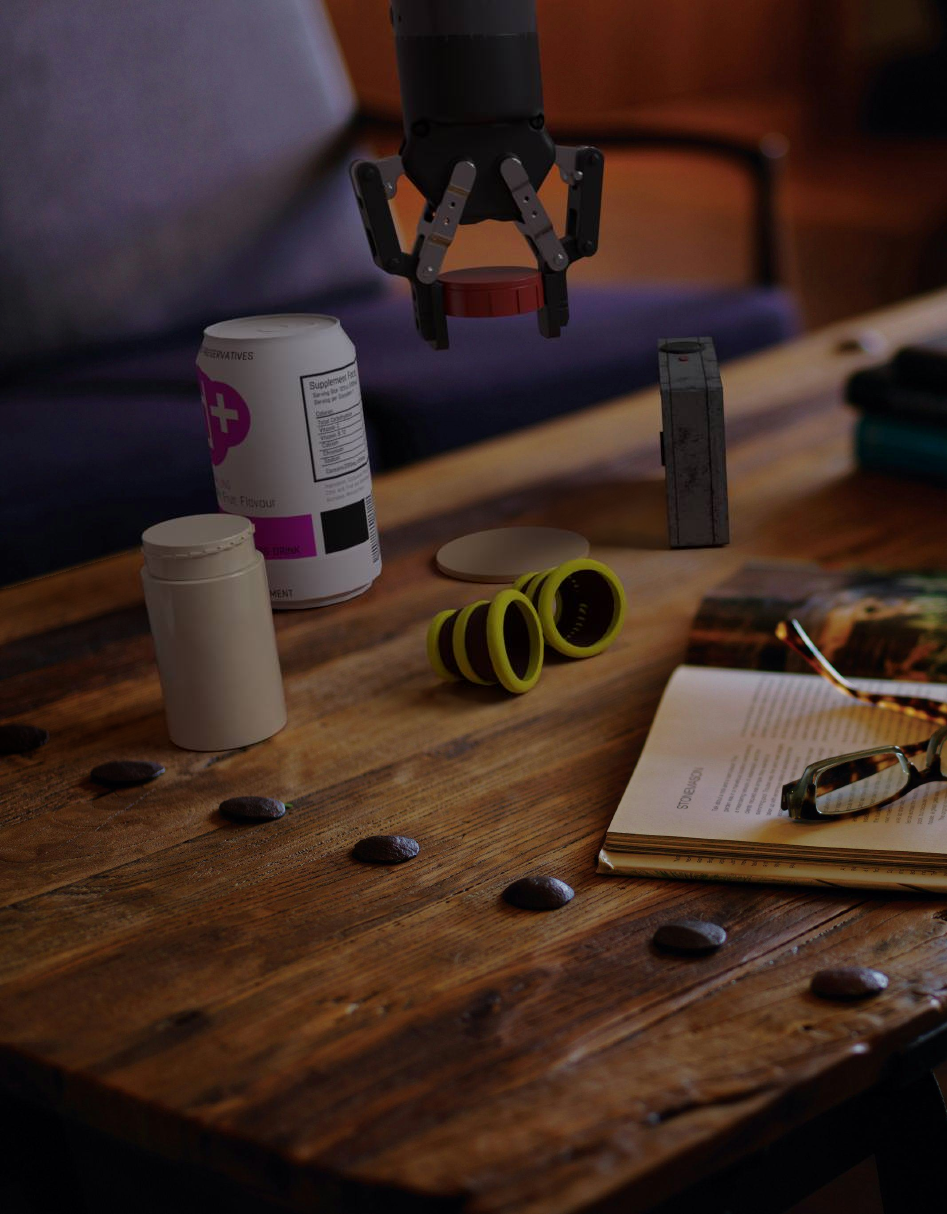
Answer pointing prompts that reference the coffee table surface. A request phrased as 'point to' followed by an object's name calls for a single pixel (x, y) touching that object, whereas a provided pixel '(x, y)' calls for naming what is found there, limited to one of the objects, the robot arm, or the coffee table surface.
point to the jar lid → (492, 291)
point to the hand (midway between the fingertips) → (495, 340)
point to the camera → (693, 442)
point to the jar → (212, 632)
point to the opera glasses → (529, 626)
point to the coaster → (510, 553)
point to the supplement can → (293, 452)
